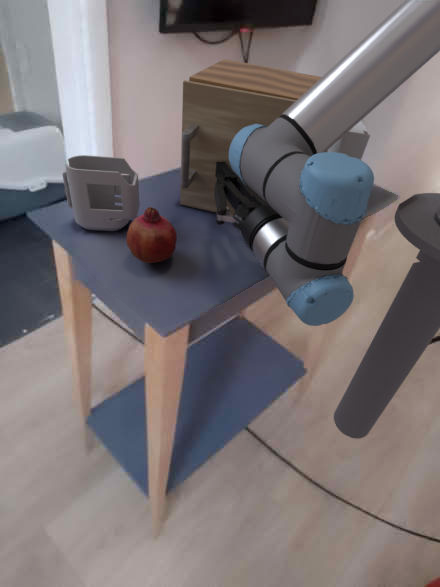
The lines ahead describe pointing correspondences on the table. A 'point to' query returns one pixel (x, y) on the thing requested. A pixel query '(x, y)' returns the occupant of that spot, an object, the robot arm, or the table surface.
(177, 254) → the table surface
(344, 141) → the cosmetic box
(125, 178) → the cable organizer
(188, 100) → the cupboard door
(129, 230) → the fruit
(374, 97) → the robot arm
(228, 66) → the cupboard
